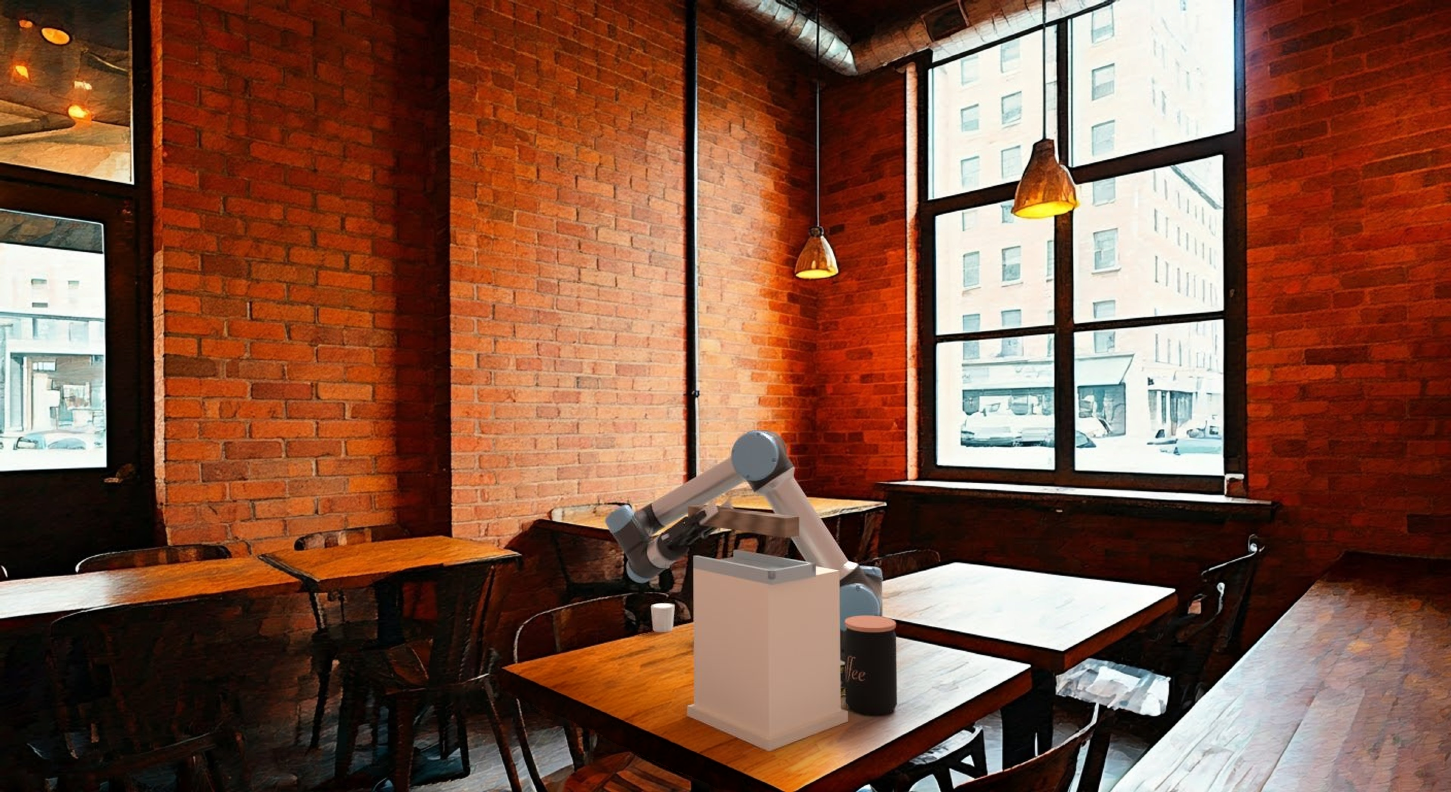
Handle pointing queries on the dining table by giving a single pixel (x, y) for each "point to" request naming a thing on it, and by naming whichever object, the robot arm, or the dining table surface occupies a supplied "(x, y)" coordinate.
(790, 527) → the walnut bar
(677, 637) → the dining table surface
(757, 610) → the plinth
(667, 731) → the dining table surface
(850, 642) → the coffee jar
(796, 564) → the tray
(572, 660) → the dining table surface
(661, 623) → the white cup
